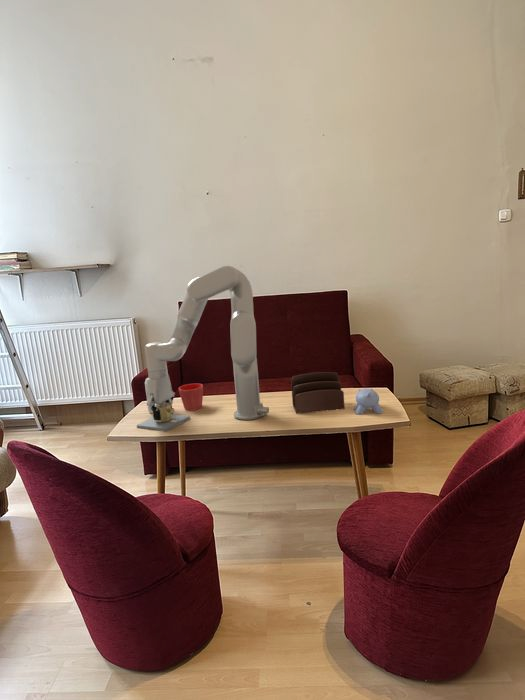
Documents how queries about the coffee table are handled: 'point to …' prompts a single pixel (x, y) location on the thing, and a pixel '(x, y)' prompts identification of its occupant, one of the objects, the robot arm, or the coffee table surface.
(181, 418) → the post base
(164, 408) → the cup
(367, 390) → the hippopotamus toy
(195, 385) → the flower pot
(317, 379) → the letter holder
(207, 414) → the coffee table surface
